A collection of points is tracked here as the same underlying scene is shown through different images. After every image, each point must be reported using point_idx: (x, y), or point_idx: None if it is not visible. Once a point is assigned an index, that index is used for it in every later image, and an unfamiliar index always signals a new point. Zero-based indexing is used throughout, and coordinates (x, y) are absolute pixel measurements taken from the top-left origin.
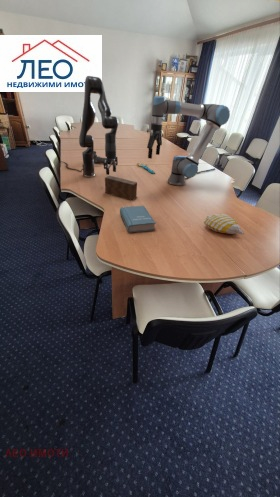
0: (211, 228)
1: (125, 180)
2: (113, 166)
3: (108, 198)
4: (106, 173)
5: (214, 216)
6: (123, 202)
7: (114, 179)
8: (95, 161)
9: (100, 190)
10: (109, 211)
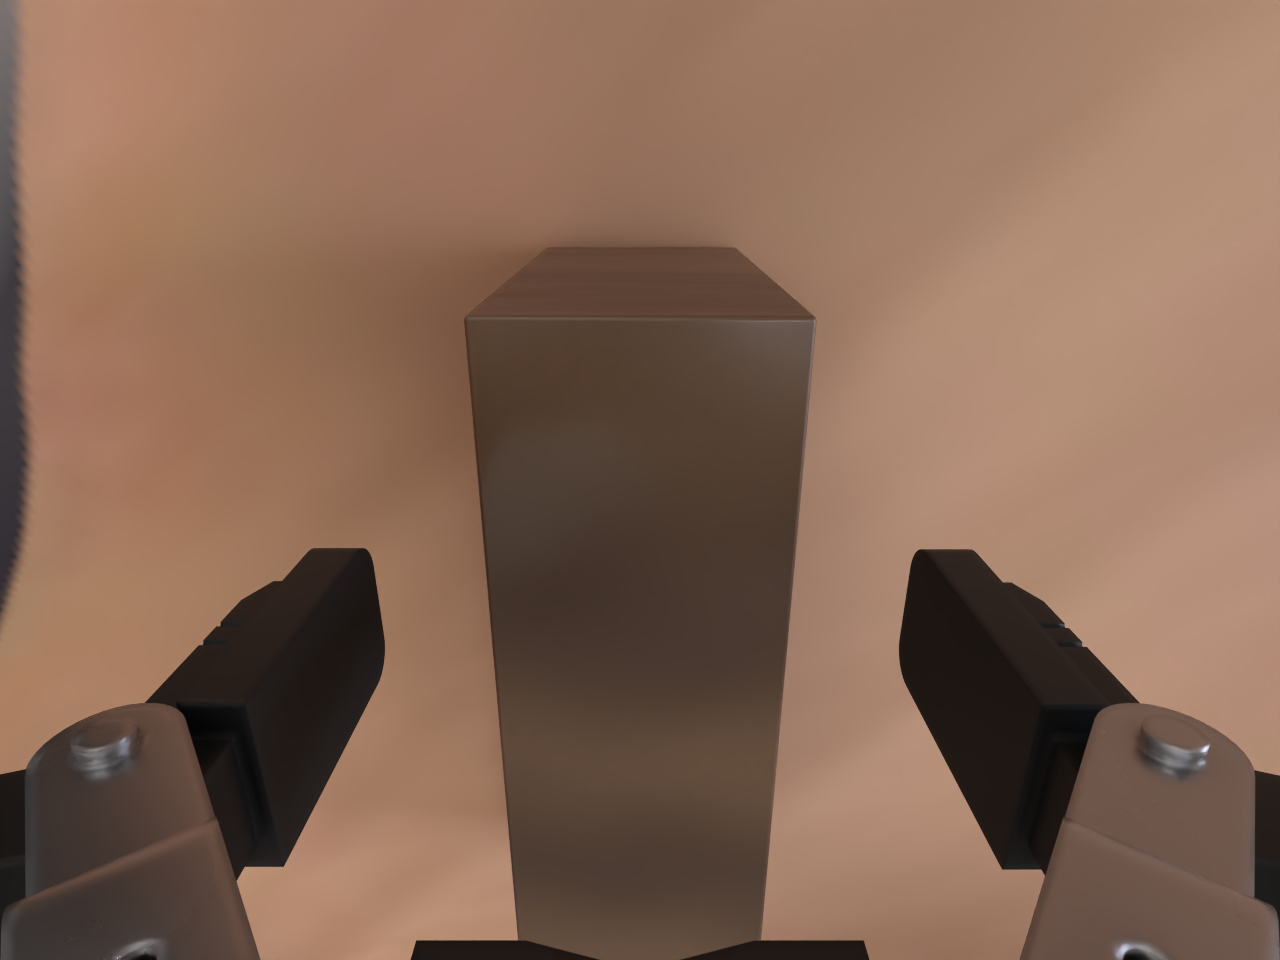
0: None
1: (684, 940)
2: (1051, 748)
3: (361, 471)
4: (254, 608)
5: None
6: (416, 750)
7: (543, 692)
8: None
9: (603, 31)
10: (3, 742)
